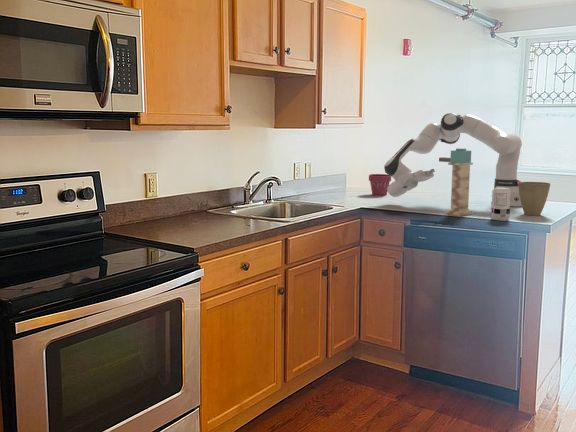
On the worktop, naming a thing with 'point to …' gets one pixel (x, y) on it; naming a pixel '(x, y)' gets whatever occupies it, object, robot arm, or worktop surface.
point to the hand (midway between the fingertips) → (427, 170)
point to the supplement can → (501, 203)
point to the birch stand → (460, 189)
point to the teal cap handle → (458, 156)
